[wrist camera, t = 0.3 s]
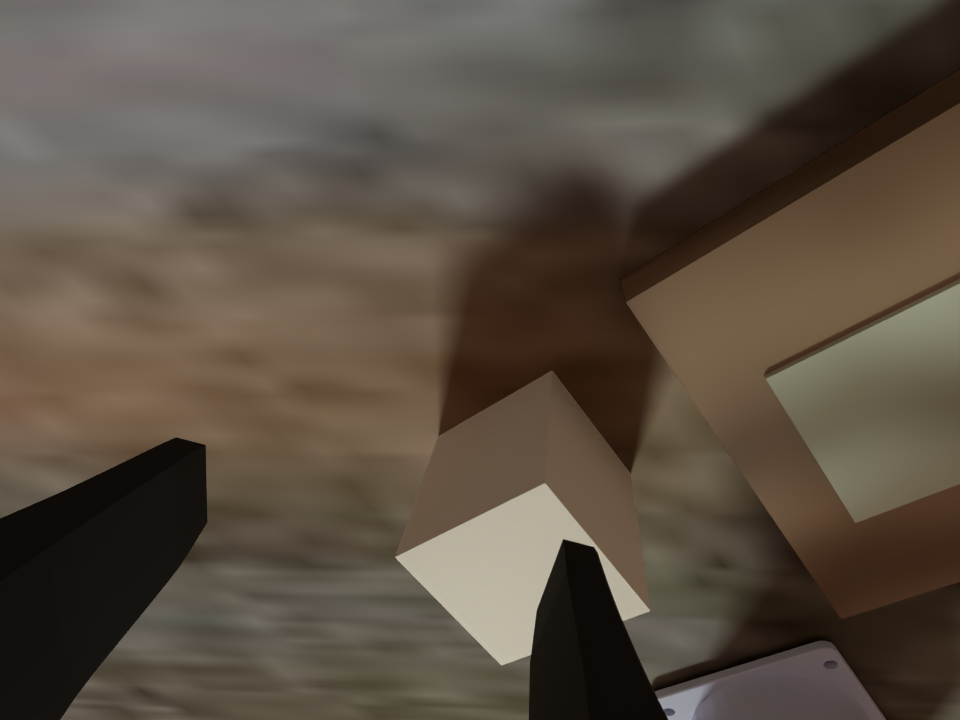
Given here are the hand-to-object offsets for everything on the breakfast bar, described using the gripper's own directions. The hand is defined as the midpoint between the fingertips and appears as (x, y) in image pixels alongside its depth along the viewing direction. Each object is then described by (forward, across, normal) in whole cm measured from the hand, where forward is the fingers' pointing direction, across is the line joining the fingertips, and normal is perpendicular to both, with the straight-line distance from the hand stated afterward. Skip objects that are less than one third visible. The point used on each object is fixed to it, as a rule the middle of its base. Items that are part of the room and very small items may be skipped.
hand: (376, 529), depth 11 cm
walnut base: (+9, -13, -2) cm, 16 cm away
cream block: (+9, -4, +4) cm, 10 cm away
